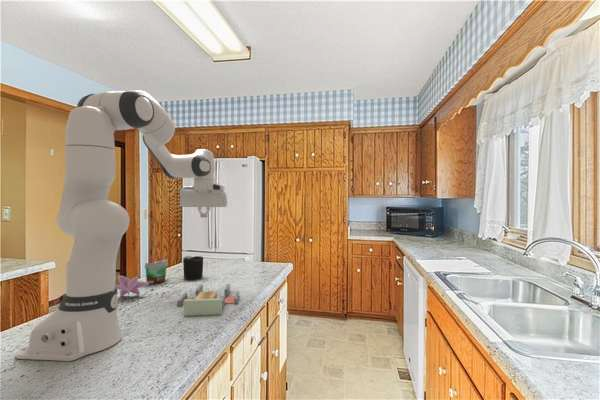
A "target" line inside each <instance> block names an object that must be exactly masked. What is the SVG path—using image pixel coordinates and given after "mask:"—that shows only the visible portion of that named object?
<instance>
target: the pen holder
mask: <svg viewBox="0 0 600 400" xmlns="http://www.w3.org/2000/svg"><path fill="white" fill-rule="evenodd" d="M182 262H183V263H182V264H183V268H182V269H183V279H184V280H186V281H196V280H197V279H198V280H201V279H202V278H203V274H204V273H203V271H204V257H203V256H201V255H199V256H197V255H195V256H193V257H190V258H189V257H188V258H187V257H184V258H182Z"/></svg>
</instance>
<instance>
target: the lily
mask: <svg viewBox="0 0 600 400" xmlns="http://www.w3.org/2000/svg"><path fill="white" fill-rule="evenodd" d="M117 280H118V282H119V284H116V287H117V290H119V291H120V292H119V296H120V297H123V296H125V295H127V302H129V299H130V298H129V294H130V293H132V294H134V295H137V296H140V293H141V292H140V290H139V289H140V288H143V287H146V286H149V283H147V281H140V280H139V276H138V275H137V276H135V277H133V278H131V279H130V278H129V277H126V276H124V275H120V274H118V275H117Z"/></svg>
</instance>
